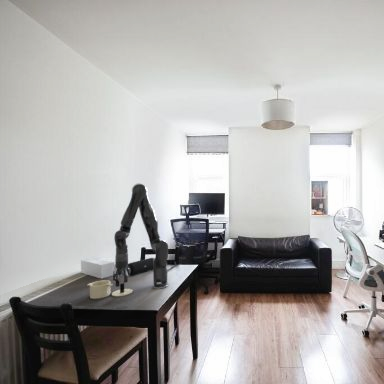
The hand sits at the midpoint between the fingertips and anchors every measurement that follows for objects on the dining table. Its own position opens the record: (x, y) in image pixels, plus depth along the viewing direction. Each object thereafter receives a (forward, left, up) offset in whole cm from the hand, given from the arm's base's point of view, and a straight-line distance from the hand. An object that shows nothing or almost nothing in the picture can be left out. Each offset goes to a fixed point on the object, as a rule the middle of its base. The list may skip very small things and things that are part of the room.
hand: (121, 284), depth 174 cm
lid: (-1, 0, -6) cm, 6 cm away
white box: (-40, -50, -7) cm, 64 cm away
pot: (+4, -12, -6) cm, 14 cm away
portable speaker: (-48, -15, -7) cm, 50 cm away
